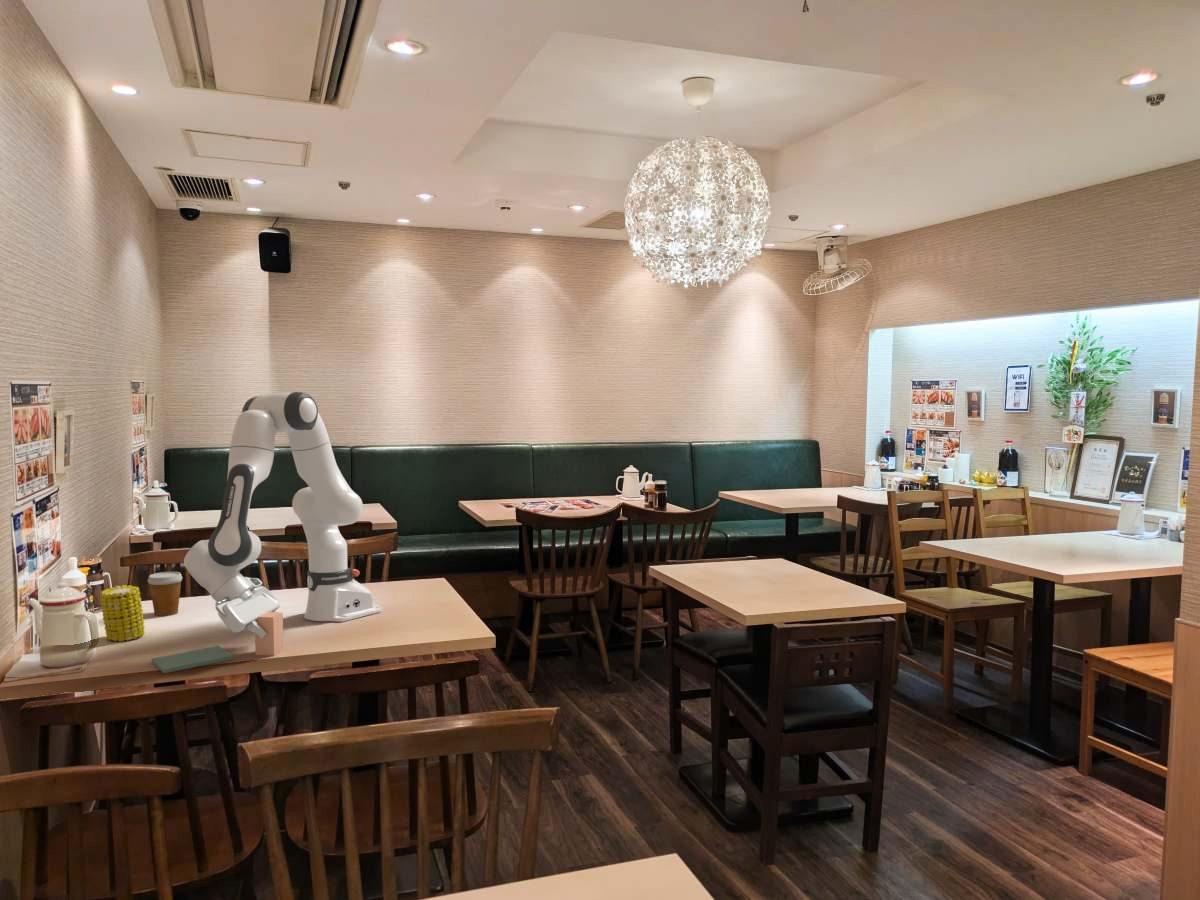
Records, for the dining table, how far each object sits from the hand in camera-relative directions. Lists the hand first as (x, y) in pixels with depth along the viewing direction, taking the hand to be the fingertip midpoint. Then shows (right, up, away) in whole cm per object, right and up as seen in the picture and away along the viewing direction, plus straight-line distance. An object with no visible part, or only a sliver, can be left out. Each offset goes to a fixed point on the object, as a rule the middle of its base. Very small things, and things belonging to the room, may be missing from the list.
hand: (271, 632), depth 216 cm
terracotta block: (-1, -5, 0) cm, 5 cm away
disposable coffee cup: (-47, -3, +38) cm, 60 cm away
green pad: (-17, -6, -7) cm, 19 cm away
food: (-45, -5, +12) cm, 47 cm away
